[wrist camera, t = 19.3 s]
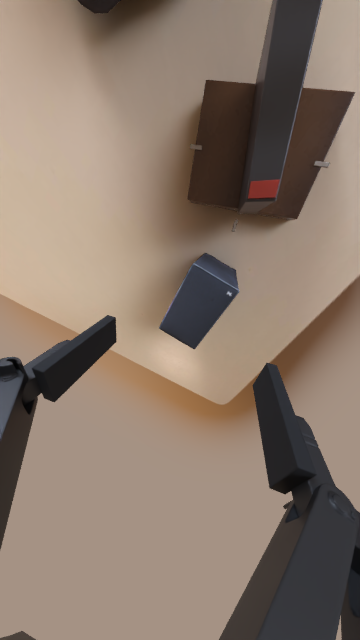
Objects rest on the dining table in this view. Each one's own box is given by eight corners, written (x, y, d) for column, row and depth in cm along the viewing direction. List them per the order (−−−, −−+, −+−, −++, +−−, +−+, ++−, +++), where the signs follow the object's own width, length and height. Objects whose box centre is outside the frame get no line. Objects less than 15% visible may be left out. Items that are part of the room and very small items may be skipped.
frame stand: (364, 68, 15) (388, 41, 13) (285, 242, 23) (291, 243, 21) (208, 58, 17) (206, 32, 15) (183, 221, 25) (179, 221, 23)
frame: (256, 79, 16) (294, -111, 7) (281, 74, 15) (356, -136, 7) (237, 214, 21) (245, 201, 12) (255, 213, 21) (277, 200, 12)
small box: (203, 250, 26) (191, 259, 17) (237, 270, 26) (243, 290, 18) (175, 301, 32) (156, 329, 23) (204, 318, 32) (195, 351, 23)
